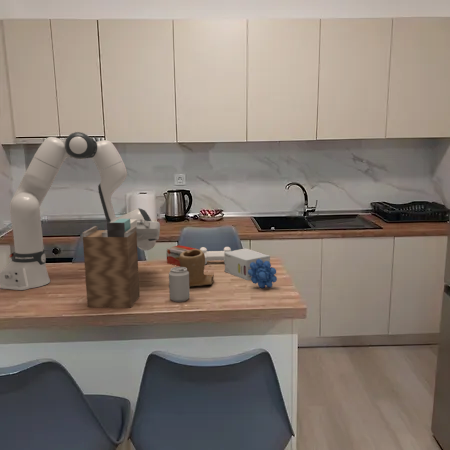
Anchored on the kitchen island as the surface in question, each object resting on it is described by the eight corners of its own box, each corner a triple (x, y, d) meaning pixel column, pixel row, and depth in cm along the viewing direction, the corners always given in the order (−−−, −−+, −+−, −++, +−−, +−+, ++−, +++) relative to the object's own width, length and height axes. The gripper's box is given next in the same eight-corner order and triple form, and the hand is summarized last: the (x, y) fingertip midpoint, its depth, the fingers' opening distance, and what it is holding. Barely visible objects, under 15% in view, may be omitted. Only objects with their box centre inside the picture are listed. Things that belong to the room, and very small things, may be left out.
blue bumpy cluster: (247, 291, 186) (247, 261, 183) (248, 285, 192) (248, 257, 190) (277, 291, 185) (277, 262, 182) (276, 286, 191) (276, 257, 189)
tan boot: (178, 290, 187) (177, 254, 184) (177, 281, 199) (176, 247, 196) (216, 289, 189) (215, 252, 186) (213, 280, 200) (213, 246, 198)
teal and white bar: (111, 236, 166) (110, 223, 165) (128, 225, 186) (127, 214, 185) (122, 236, 166) (121, 223, 165) (137, 225, 185) (137, 214, 185)
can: (186, 303, 173) (185, 271, 171) (167, 302, 175) (165, 270, 172) (191, 296, 180) (191, 266, 178) (173, 295, 182) (172, 265, 180)
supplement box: (223, 272, 213) (223, 252, 211) (246, 267, 220) (246, 247, 218) (246, 281, 199) (246, 259, 197) (270, 275, 207) (270, 254, 205)
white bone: (230, 262, 231) (230, 245, 231) (231, 265, 223) (231, 248, 222) (200, 262, 231) (199, 246, 230) (199, 266, 222) (199, 248, 221)
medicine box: (166, 263, 228) (166, 247, 226) (178, 260, 234) (178, 244, 232) (188, 269, 218) (187, 252, 217) (200, 265, 224) (200, 249, 222)
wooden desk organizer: (87, 306, 170) (81, 222, 165) (99, 295, 182) (94, 217, 176) (130, 307, 169) (126, 223, 163) (139, 296, 181) (135, 217, 175)
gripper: (115, 225, 196) (104, 213, 183) (163, 225, 195) (156, 213, 182) (113, 239, 194) (102, 228, 181) (162, 239, 193) (154, 229, 180)
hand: (129, 221), depth 181 cm, fingers open, 8 cm apart
